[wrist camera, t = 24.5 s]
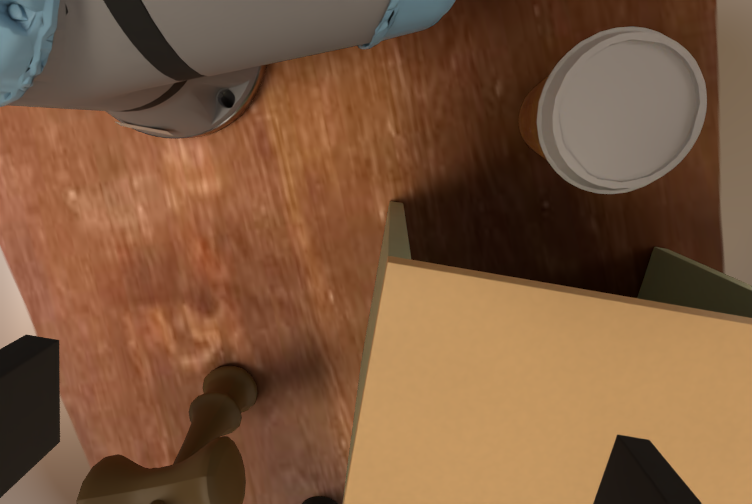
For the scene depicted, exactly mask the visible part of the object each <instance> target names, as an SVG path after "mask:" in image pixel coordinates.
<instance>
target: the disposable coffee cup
mask: <svg viewBox="0 0 752 504" xmlns="http://www.w3.org/2000/svg"><path fill="white" fill-rule="evenodd" d="M706 106H707V94H706V85H705V81H704V78H703V75H702V73H701V70H700V68H699V66H698V64H697V62H696V60H695V59H694V58H693V57H692V55H691V54H690V53H689V52H688V51H687V50H686V49H685V48H684V47H683V46H681V45H680V44H679V43H678V42H676V41H674V40H672V39H670V38H669V37H667V36H665V35H663V34H662V33H660V32H657V31H654V30H651V29H647V28H641V27H633V26H631V27H618V28H613V29H610V30H606V31H602V32H599V33H597V34H595V35H593V36H591V37H589V38H587V39H585V40H583V41H582V42H580V43H579V44H578V45H576V46H575V47H574V48H573V49H571V50H570V51H569V52H568V53H567V54H566V55H565V56H564V57H563V58H562V59H561V60H560V61H559V62H558V63H557V65H556V66H555V68H554V69H553V71H552V72H551V74H550V75H549V76H548V77H546V78H545V79H544V80H543V81H542V82H540V83H539V84H538V85H536V86H535V87H534V88H533V89H532V90H531V91H530V92H529V93H528V95H527V96H526V98H525V99H524V101H523V103H522V105H521V108H520V112H519V129H520V133H521V136H522V138H523V139H524V141H525V143H526V144H527V145H528V147H530V148H531V149H532V150H533V151H534V152H536V153H538V154H539V155H540V156H542V157H543V158H545V159H546V160H547V161H548V162H549V164H550V165H551V166H552V168H553V169H554V170H555V171H556V172H557V173H558V174H559V175H560V176H561V177H562V178H563V179H564V180H565V181H567V182H569V183H570V184H572V185H574V186H576V187H578V188H580V189H583V190H586V191H590V192H594V193H599V194H617V193H625V192H630V191H632V190H635V189H638V188H641V187H644V186H646V185H648V184H650V183H651V182H653V181H655V180H657V179H658V178H660V177H662V176H663V175H665V174H666V173H668V172H669V171H670V170H672V169H673V168H674V167H675V166H677V165H678V164H679V163H680V162H681V161H682V160H683V158H684V157H685V156H686V155H687V153H688V152H689V151H690V150H691V149H692V147H693V145H694V143H695V141H696V140H697V138H698V136H699V134H700V131H701V129H702V126H703V123H704V119H705V114H706Z"/></svg>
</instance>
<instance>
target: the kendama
mask: <svg viewBox="0 0 752 504" xmlns="http://www.w3.org/2000/svg"><path fill="white" fill-rule="evenodd" d="M203 392H204V394H202V395H200V396H198V397H197V398H196V399H195V400H194V401H193V402H192V403H191V405H190V409H189V416H190V421H191V426H190V428H189V431H188V433H187V436H186V438H185V440H184V443H183V445H182V447H181V449H180V451H179V453H178V455H177V457H176V459H175V461H174V463H173V465H170V466H166V467H161V468H152V469H148V468H144V467H142V466H140V465H138V464H136V463H134V462H133V461H131V460H129V459H128V458H126V457H124V456H122V455H119V454H118V455H113V456H108V457H105V458H103V459H102V460H101V461H100V462H98V463H97V464H96V465H95V466H93V467H92V469H91V470H90V472H89V473H88V475H87V476H86V478H85V480H84V481H83V483H82V486H81V489H80V492H79V495H78V498H77V504H242V503H243V499H244V496H245V484H246V480H245V469H244V464H243V460H242V457H241V454H240V452H239V450H238V448H237V446H236V444H235V443H234V442H233V441H232V440H231V439H230V438H229V437H227V436H224V435H226V434H229V433H232V432H233V431H234V430H235V429H237V428H238V427H239V426H240V422H241V419H242V416H241V412H244V411H246V410H248V409H249V408H250V407H251V406H253V405H254V404H255V401H256V397H257V394H258V393H257V387H256V383H255V381H254V380H253V378H252V376H251V375H250V374H249V373H248V372H247V371H245V370H244V369H243V368H239V367H236V366H222V367H220V368H217V369H215V370H213V371H211V372H210V373H209V374H208V375H207V376H206V377H205V380H204V384H203ZM220 436H223V437H220Z"/></svg>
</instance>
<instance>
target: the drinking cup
mask: <svg viewBox="0 0 752 504" xmlns="http://www.w3.org/2000/svg"><path fill="white" fill-rule="evenodd" d="M302 504H337V503H336V502H335V501H334V500H332V499H329V498H326V497H312V498H310V499H307V500H306V501H304V502H303V503H302Z"/></svg>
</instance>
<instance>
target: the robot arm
mask: <svg viewBox="0 0 752 504" xmlns="http://www.w3.org/2000/svg"><path fill="white" fill-rule="evenodd" d="M454 2H455V0H0V107H2V106H5V105H11V106H29V107H46V108H64V109H82V110H99V111H106V112H107V113H109V114H110V115H112V116H113V117H114V118H116V119H117V120H119V121H120V122H122V123H119V122H116V123H117V124H119V125H121V126H124V127H130V128H133V129H135V130H137V131H139V132H142V133H145V134H148V135H152V136H156V137H162V138H193V137H200V136H204V135H208V134H211V133H214V132H216V131H219V130H220V129H222V128H224V127H226V126H228V125H229V124H231V123H232V122H234V121H235V120H236V119H237V118H238V117H239V116H241V114H242V113H243V112H244V111H245V110H246V109H247V108H248V107H249V105H250V104H251V103H252V101H253V100H254V98H255V96H256V95H257V93H258V91H259V89H260V87H261V84H262V82H263V79H264V76H265V72H266V68H267V64H271V63H276V62H281V61H286V60H290V59H295V58H300V57H305V56H310V55H314V54H319V53H324V52H329V51H334V50H338V49H343V48H348V47H353V46H358V47H359V48H360V49H370V48H372V47H373V46H375V45H377V44H378V43H380V42H381V41H383V40H387V39H391V38H394V37H398V36H402V35H406V34H410V33H414V32H418V31H422V30H425V29H427V28H429V27H431V26H433V25H434V24H436V23H437V22H438V21H439V20H440V19H441V18H442V16H443V15H444V14H446V13H447V12H448V11H449V10H450V8H451V7H452V6H453V4H454ZM59 402H60V398H59V340H55V339H49V338H43V337H37V336H31V335H25V336H23V337H21V338H19V339H18V340H16V341H14V342H12V343H10V344H9V345H7V346H5V347H3V348H2V349H0V498H1V497H2V496H3V495H4V494H5V493H6V492H7V491H8V490H9V489H10V488H11V487H12V486H13V485H14V484H15V483H17V482H18V481H19V480H20V479H21V478H22V477H23V476H24V475H25V474H26V473H27V472H28V471H29V470H30V469H31V468H32V467H34V466H35V465H36V464H37V463H38V462H39V461H40V460H41V459H42V458H43V457H44V456H45V455H46V454H47V453H48V452H49V451H51V450H52V449H53V448H54V447H55V446H56V445H57V444H58V443H59V442H60V414H59V413H60V409H59V408H60V404H59ZM593 504H702V503H701V502H700V500H699V499H698V498H697V497H696V496H695V494H694V493H693V492H692V491H691V490H690V488H689V487H688V486H687V485H686V484H685V482H684V481H683V480H682V479H681V477H680V476H679V475H678V474H677V473H676V471H675V470H674V469H673V468H672V467H671V465H670V464H669V463H668V462H667V460H666V459H665V458H664V457H663V456H662V454H661V453H660V452H659V451H658V450H657V448H656V447H655V446H654V445H653V444H652V442H651V441H650V440H647V439H641V438H636V437H630V436H624V435H618V434H617V437H616V440H615V442H614V445H613V448H612V451H611V454H610V457H609V460H608V463H607V465H606V468H605V471H604V474H603V477H602V480H601V483H600V485H599V488H598V491H597V494H596V497H595V500H594V503H593Z"/></svg>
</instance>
